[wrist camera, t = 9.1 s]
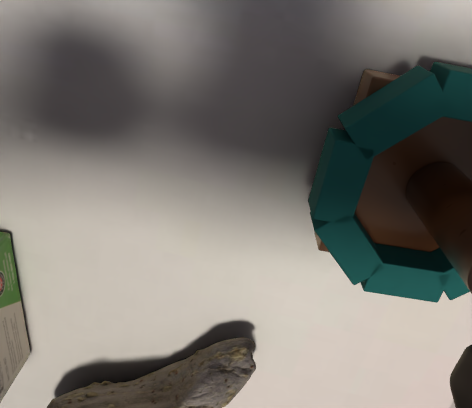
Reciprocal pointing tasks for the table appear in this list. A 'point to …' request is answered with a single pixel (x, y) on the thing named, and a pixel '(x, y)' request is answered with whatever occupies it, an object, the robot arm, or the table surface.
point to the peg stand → (420, 188)
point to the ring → (356, 170)
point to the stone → (175, 382)
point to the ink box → (10, 319)
